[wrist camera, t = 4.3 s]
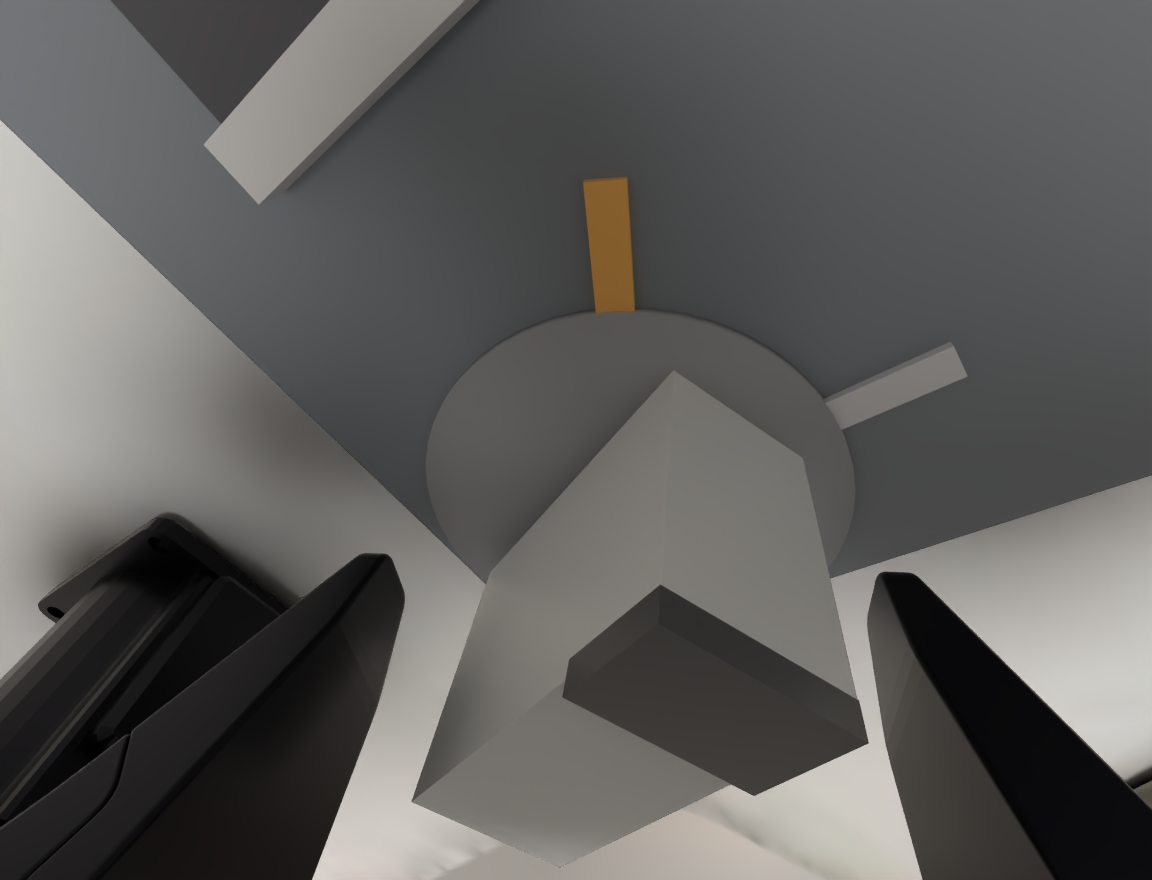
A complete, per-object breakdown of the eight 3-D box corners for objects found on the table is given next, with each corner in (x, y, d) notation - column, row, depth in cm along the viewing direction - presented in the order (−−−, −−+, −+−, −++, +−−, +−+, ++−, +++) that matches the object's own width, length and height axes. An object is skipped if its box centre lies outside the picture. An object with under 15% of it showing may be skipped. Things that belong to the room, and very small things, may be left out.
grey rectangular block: (598, 622, 12) (558, 885, 8) (492, 562, 11) (403, 818, 8) (802, 450, 9) (868, 743, 5) (672, 362, 8) (658, 624, 5)
